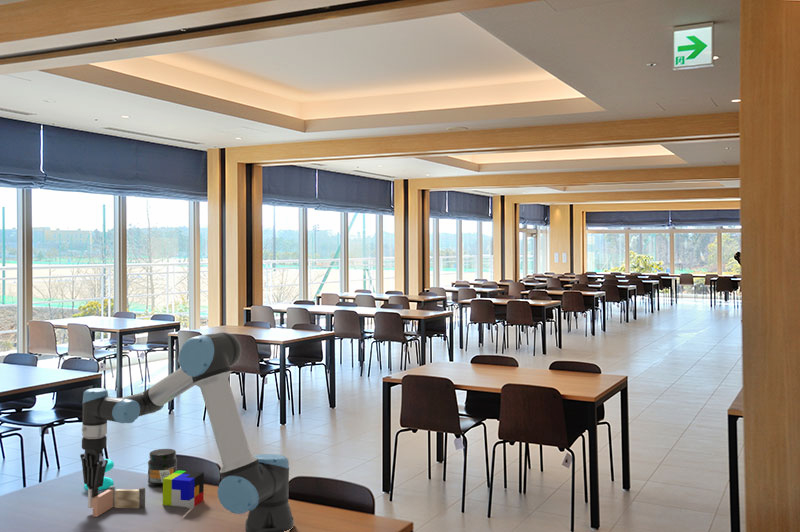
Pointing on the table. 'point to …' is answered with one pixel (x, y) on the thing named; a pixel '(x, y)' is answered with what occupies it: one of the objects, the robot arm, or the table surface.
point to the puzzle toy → (183, 489)
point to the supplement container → (161, 466)
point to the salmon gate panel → (104, 501)
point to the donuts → (107, 481)
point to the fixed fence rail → (130, 498)
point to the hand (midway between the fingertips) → (92, 506)
